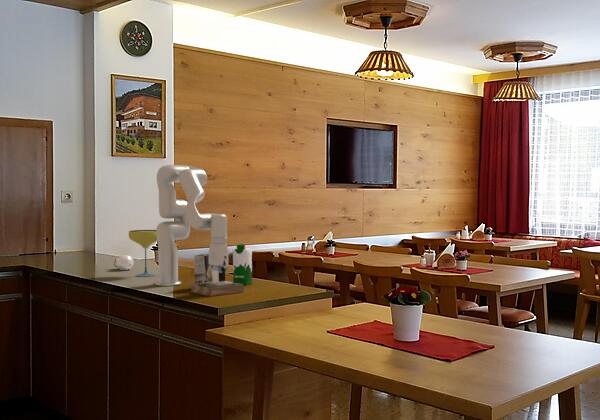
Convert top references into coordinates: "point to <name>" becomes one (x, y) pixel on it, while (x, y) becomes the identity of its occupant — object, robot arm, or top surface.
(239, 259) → the milk carton
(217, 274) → the plug
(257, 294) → the top surface
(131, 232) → the cocktail glass
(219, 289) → the walled box
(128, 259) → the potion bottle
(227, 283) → the block
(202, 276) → the coffee box
